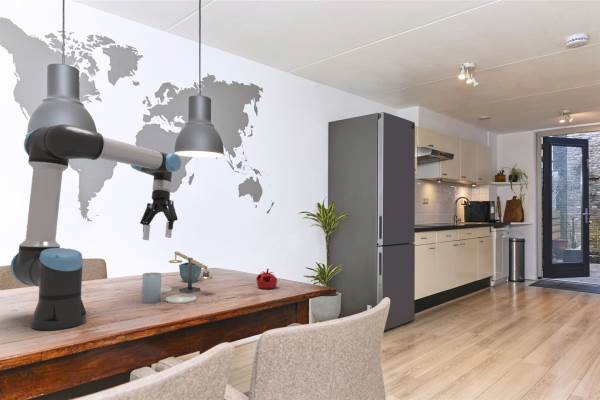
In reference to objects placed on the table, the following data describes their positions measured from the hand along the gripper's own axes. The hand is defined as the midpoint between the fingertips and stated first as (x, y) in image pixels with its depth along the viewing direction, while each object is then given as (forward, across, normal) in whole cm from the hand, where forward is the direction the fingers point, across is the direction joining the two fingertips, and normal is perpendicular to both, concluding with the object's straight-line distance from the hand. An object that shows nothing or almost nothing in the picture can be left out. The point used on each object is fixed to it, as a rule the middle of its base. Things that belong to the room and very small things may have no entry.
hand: (156, 238), depth 171 cm
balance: (+21, -3, -19) cm, 28 cm away
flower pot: (+16, +13, -36) cm, 41 cm away
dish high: (+21, +8, -11) cm, 25 cm away
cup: (+26, -5, +4) cm, 27 cm away
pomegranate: (+20, -28, -44) cm, 56 cm away
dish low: (+26, -13, -4) cm, 29 cm away
